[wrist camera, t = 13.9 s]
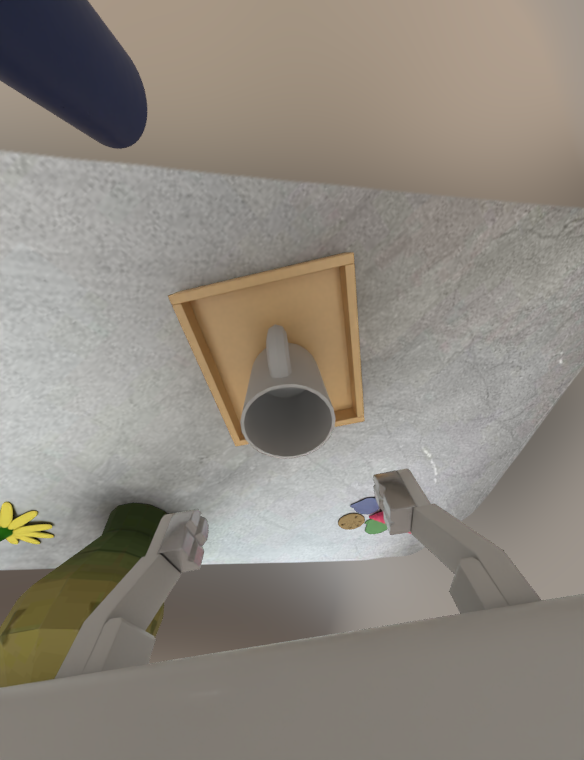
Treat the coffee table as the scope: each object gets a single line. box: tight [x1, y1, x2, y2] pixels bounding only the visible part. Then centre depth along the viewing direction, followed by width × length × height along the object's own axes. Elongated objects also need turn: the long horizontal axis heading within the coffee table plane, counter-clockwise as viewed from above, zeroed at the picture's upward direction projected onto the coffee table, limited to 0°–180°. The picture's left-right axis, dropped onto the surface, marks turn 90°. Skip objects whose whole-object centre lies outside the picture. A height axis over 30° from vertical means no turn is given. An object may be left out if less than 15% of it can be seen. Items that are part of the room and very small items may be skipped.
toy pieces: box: [338, 498, 411, 534], centre depth 39 cm, size 12×11×4 cm
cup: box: [240, 324, 336, 459], centre depth 21 cm, size 7×10×9 cm
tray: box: [168, 252, 364, 446], centre depth 24 cm, size 18×16×3 cm
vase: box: [0, 503, 166, 688], centre depth 24 cm, size 16×16×30 cm
